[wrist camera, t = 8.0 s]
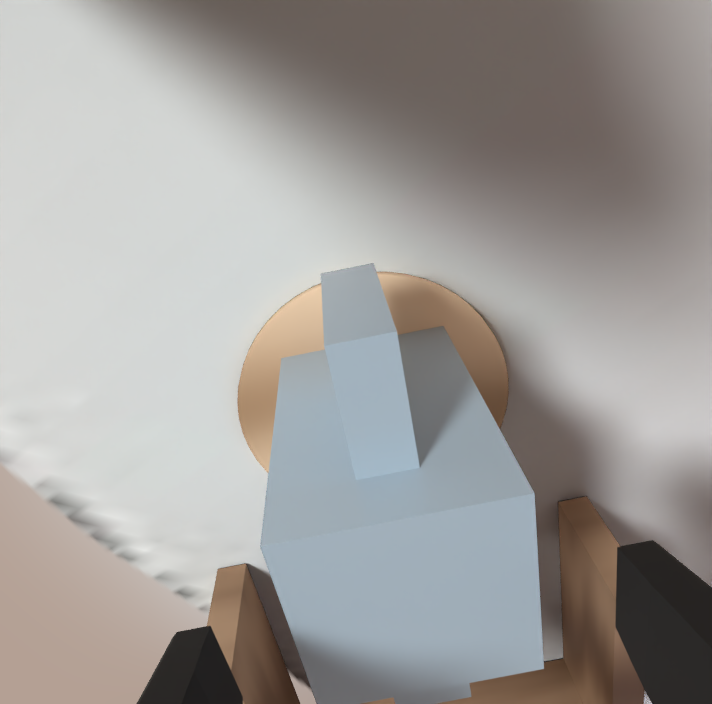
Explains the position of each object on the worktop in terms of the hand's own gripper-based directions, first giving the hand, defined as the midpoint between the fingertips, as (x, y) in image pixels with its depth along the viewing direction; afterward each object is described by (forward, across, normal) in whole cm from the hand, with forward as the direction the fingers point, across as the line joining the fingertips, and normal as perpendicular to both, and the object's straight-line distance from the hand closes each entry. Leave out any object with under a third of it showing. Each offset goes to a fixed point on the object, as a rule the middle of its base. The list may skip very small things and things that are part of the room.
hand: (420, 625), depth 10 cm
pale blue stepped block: (+7, 0, 0) cm, 7 cm away
